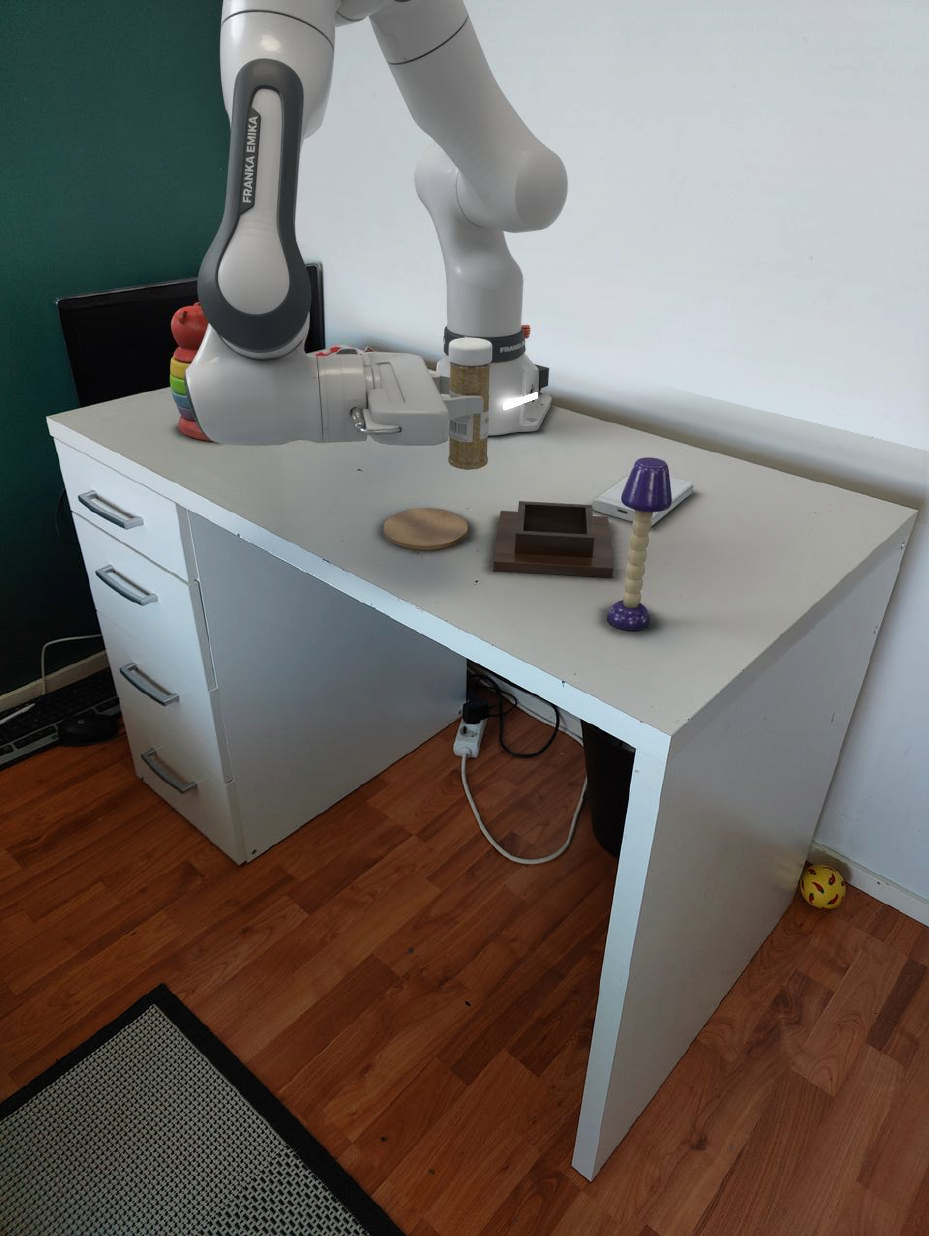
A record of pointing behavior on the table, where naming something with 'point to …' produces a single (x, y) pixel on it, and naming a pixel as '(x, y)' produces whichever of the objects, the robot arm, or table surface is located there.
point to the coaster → (425, 529)
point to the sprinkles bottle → (465, 377)
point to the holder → (554, 540)
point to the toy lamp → (640, 536)
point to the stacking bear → (186, 362)
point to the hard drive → (615, 507)
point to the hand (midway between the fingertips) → (477, 394)
